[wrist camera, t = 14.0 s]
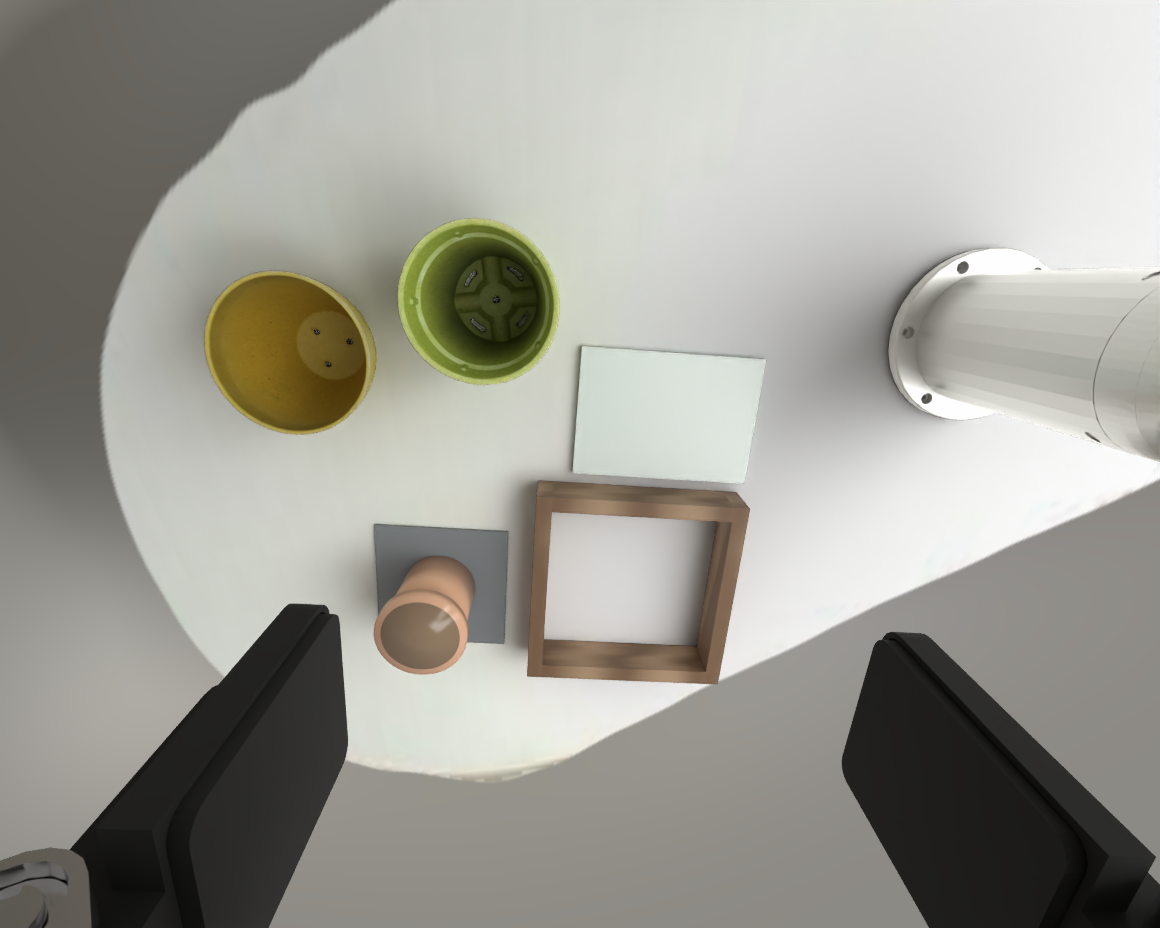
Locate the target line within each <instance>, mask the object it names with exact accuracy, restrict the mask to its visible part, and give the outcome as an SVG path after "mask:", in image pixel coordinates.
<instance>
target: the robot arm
mask: <svg viewBox="0 0 1160 928" xmlns="http://www.w3.org/2000/svg"><path fill="white" fill-rule="evenodd" d="M903 330H904V333H903ZM888 352H889V364H890V369H891V372H892V376H893V379H894V381H895V383H896V385H897V387H898V389H899V390H900V392H901V393H902V394H903V396H904V397H905V398H906V399H907V400H908V401H909V402H910V403H911V404H913V405H914V406H916V407H917V408H919V409H920V410H922V411H924V412H927V413H929V414H931V415H934V416H938V417H941V418H945V419H951V420H968V419H976V418H980V417H984V416H987V415H990V414H993V413H998V414H1002V415H1005V416H1008V417H1012V418H1015V419H1018V420H1022V421H1025V422H1028V423H1032V424H1035V425H1038V426H1042V427H1045V428H1048V429H1051V430H1055V431H1058V432H1061V433H1065V434H1068V435H1071V436H1075V437H1078V438H1081V439H1085V440H1088V441H1091V442H1094V443H1098V444H1101V445H1104V446H1108V447H1111V448H1114V449H1118V450H1121V451H1124V452H1128V453H1131V454H1135V455H1139V456H1142V457H1145V458H1149V459H1152V460H1155V461H1159V462H1160V267H1126V268H1087V269H1048V268H1047V267H1046V266H1045V265H1044V264H1043V263H1041V262H1040V261H1039V260H1038V259H1036V258H1035V257H1033V256H1031V255H1029V254H1027V253H1024V252H1022V251H1019V250H1014V249H1009V248H986V249H978V250H971V251H968V252H965V253H962V254H959V255H956V256H954V257H952V258H950V259H948V260H946V261H945V262H943V263H941V264H939V265H938V266H937V267H935V268H934V269H933V270H931V271H930V272H929V273H927V274H926V275H925V276H924V277H923V278H922V279H921V280H920V281H919V282H918V283H917V284H916V285H915V286H914V287H913V289H912V290H911V291H910V293H909V294H908V296H907V297H906V299H905V300H904V301H903V303H902V305H901V307H900V309H899V311H898V313H897V315H896V317H895V320H894V323H893V327H892V330H891V334H890V341H889V350H888ZM347 747H348V733H347V719H346V705H345V691H344V677H343V664H342V650H341V636H340V623H339V618H338V616H337V615H336V614H329V610H328V608H327V606H325V605H312V604H288V605H287V606H286V607H285V608H284V609H283V610H282V611H281V612H280V614H279V615H278V616H277V617H276V618H275V619H274V621H273V622H272V623H271V624H270V625H269V626H268V628H267V629H266V630H265V631H264V632H263V633H262V635H261V636H260V637H259V638H258V639H257V640H256V642H255V643H254V644H253V645H252V646H251V647H250V649H249V650H248V651H247V652H246V653H245V654H244V656H243V657H242V658H241V659H240V660H239V661H238V663H237V664H236V665H235V666H234V667H233V668H232V670H231V671H230V672H229V673H228V674H227V675H226V677H225V678H224V679H223V680H222V681H221V682H220V684H219V685H217V686H214V687H212V688H211V689H210V690H209V691H208V692H207V693H206V694H205V695H204V696H203V697H202V698H201V699H200V701H199V702H198V703H197V704H196V705H195V706H194V707H193V709H192V710H191V711H190V712H189V713H188V714H187V715H186V717H185V718H184V719H183V720H182V721H181V723H179V725H178V726H177V727H176V728H175V729H174V730H173V731H172V733H171V734H170V735H169V736H168V737H167V738H166V740H165V741H164V742H163V743H162V744H161V746H159V748H158V749H157V750H156V751H155V752H154V753H153V755H152V756H151V757H150V758H149V759H148V760H147V762H146V763H145V764H144V765H143V766H142V767H141V768H140V770H139V771H138V772H137V773H136V774H135V775H134V776H133V777H132V779H131V780H130V781H129V782H128V783H127V784H126V786H125V787H124V788H123V789H122V790H121V791H120V792H119V794H118V795H117V796H116V797H115V798H114V799H113V801H112V802H111V803H110V804H109V805H108V806H107V808H106V809H105V810H104V811H103V812H102V813H101V814H100V815H99V817H98V818H97V819H96V820H95V821H94V822H93V824H92V825H91V826H90V827H89V828H88V829H87V831H86V832H85V833H84V834H83V835H82V836H81V837H80V838H79V840H78V841H77V842H76V843H75V844H74V845H73V846H72V848H71V849H70V850H67V849H57V848H45V849H39V850H33V851H27V852H23V853H20V854H18V855H15V856H12V857H9V858H6V859H3V860H1V861H0V928H269V925H270V923H271V921H272V919H273V917H274V914H275V912H276V910H277V908H278V906H279V903H280V901H281V899H282V897H283V895H284V893H285V890H286V888H287V886H288V884H289V882H290V880H291V877H292V875H293V873H294V871H295V868H296V866H297V864H298V862H299V860H300V857H301V855H302V853H303V851H304V849H305V846H306V844H307V842H308V840H309V838H310V836H311V834H312V831H313V829H314V827H315V825H316V822H317V820H318V818H319V816H320V814H321V812H322V809H323V807H324V805H325V803H326V801H327V799H328V796H329V794H330V792H331V790H332V788H333V785H334V783H335V781H336V779H337V777H338V774H339V772H340V770H341V768H342V765H343V763H344V760H345V757H346V753H347ZM842 769H843V774H844V777H845V779H846V782H847V784H848V785H849V787H850V789H851V791H852V792H853V794H854V796H855V798H856V799H857V801H858V803H859V805H860V806H861V808H862V810H863V812H864V814H865V815H866V817H867V819H868V821H869V822H870V824H871V826H872V828H873V829H874V831H875V833H876V835H877V836H878V838H879V840H880V842H881V843H882V845H883V847H884V849H885V851H886V852H887V854H888V856H889V858H890V859H891V861H892V863H893V865H894V866H895V868H896V870H897V871H898V874H899V875H900V877H901V879H902V880H903V882H904V884H905V886H906V887H907V889H908V891H909V893H910V894H911V896H912V898H913V900H914V902H915V904H916V905H917V907H918V909H919V911H920V912H921V914H922V916H923V918H924V919H925V921H926V923H927V925H928V926H929V928H1160V884H1159V883H1158V882H1157V881H1156V880H1155V879H1154V878H1153V877H1152V876H1151V875H1150V874H1149V873H1148V871H1149V869H1150V867H1151V865H1152V864H1153V862H1154V860H1155V858H1156V856H1154V855H1153V854H1152V853H1151V852H1150V851H1149V850H1148V849H1147V848H1146V847H1145V846H1144V845H1143V844H1142V843H1141V842H1140V841H1139V840H1138V839H1137V838H1136V837H1135V836H1134V835H1133V834H1132V833H1131V832H1130V831H1129V830H1128V829H1127V828H1126V827H1124V825H1123V824H1121V823H1120V822H1119V821H1118V820H1117V819H1116V818H1115V817H1114V816H1113V815H1112V814H1111V813H1110V812H1109V811H1108V810H1107V809H1106V808H1105V807H1104V806H1103V805H1102V804H1101V803H1100V802H1099V801H1098V800H1097V799H1095V797H1093V795H1092V794H1091V793H1089V791H1087V790H1086V789H1085V788H1084V787H1083V786H1082V785H1081V784H1080V783H1079V782H1078V781H1077V780H1076V779H1075V778H1074V777H1073V776H1072V775H1071V774H1070V773H1069V772H1068V771H1067V770H1066V769H1065V768H1064V767H1063V766H1062V765H1061V764H1060V763H1059V762H1058V761H1057V760H1056V759H1054V758H1053V757H1052V756H1051V755H1050V754H1049V753H1048V752H1047V751H1046V750H1045V749H1044V748H1043V747H1042V746H1041V745H1040V744H1039V743H1038V742H1037V741H1036V740H1035V739H1034V738H1032V736H1031V735H1030V734H1029V733H1028V732H1027V731H1025V729H1024V728H1023V727H1021V726H1020V725H1019V724H1018V723H1017V722H1016V721H1015V720H1014V719H1013V718H1012V717H1011V716H1010V715H1009V714H1008V713H1007V712H1006V711H1005V710H1004V709H1003V708H1002V707H1001V706H1000V705H999V704H998V703H997V702H996V701H994V699H992V697H991V696H990V695H988V694H987V693H986V692H985V691H984V690H983V689H982V688H981V687H980V686H979V685H978V684H977V683H976V682H975V681H974V680H973V679H972V678H971V677H970V676H969V675H968V674H967V673H966V672H965V671H964V670H963V669H961V667H960V666H959V665H958V664H957V663H956V662H954V661H953V660H952V659H951V658H950V657H949V656H948V655H947V654H946V653H945V652H944V651H943V650H942V649H941V648H940V647H939V646H938V645H937V644H936V643H935V642H934V641H933V640H932V639H931V638H929V637H928V636H927V635H925V634H921V633H903V632H890V633H887V634H886V635H885V636H884V637H883V639H882V640H879V641H877V642H876V643H875V645H874V647H873V651H872V654H871V658H870V661H869V665H868V668H867V672H866V675H865V679H864V682H863V686H862V689H861V693H860V696H859V700H858V704H857V707H856V711H855V714H854V718H853V721H852V725H851V728H850V732H849V735H848V739H847V742H846V746H845V749H844V753H843V756H842Z"/></svg>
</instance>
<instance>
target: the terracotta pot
mask: <svg viewBox="0 0 1160 928" xmlns="http://www.w3.org/2000/svg"><path fill="white" fill-rule="evenodd" d="M474 595H475V581H474V578H473V576H472V574H471V572H470V571H469V569H468V568H467V567H466V566H465V565H464V564H462V563H461V562H459V561H458V560H456V559H453V558H451V557H447V556H430V557H426V558H423V559H421V560H419V561H418V562H416V563H415V564H414V565H413V566H412V567H411V568H410V570H409V571H408V573H407V575H406V577H405V579H404V581H403V583H402V584H401V586H400V588H399V590H398V592H397V594H396V596H394V597H393V598H391V599H390V600H389V601H388V602H387V603H386V604H385V605H384V607H383V609H382V610H381V612H380V614H379V616H378V618H377V619H376V622H375V626H374V640H375V644H376V646H377V648H378V650H379V652H380V653H381V655H382V656H383V657H384V658H385V659H386V660H387V661H388V662H389V663H390V664H392V665H393V666H395V667H396V668H398V669H400V670H403V671H405V672H409V673H413V674H434V673H438V672H441V671H443V670H445V669H447V668H449V667H451V666H452V665H453V664H455V663H456V662H457V661H458V660H459V658H460V657H461V655H462V654H463V652H464V649H465V646H466V642H467V639H468V634H469V626H468V621H467V620H468V616H469V613H470V609H471V606H472V602H473V599H474Z"/></svg>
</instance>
